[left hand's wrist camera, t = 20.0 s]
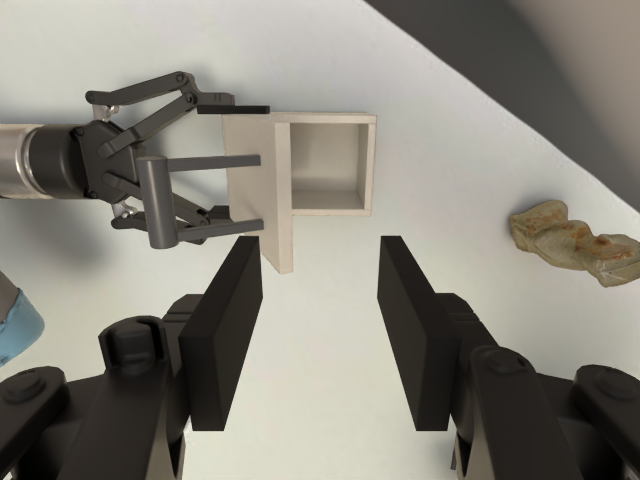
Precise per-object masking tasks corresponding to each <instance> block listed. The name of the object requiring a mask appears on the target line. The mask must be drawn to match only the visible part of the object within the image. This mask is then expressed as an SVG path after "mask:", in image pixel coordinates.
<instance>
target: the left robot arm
mask: <svg viewBox="0 0 640 480" xmlns="http://www.w3.org/2000/svg"><path fill="white" fill-rule="evenodd" d="M262 299H263V292H262V276H261V260H260V244H259V236H239V237H238V239H237V241H236V242H235V244H234V246H233V247H232V249H231V251H230V252H229V254H228V255H227V257H226V259H225V260H224V262H223V264H222V265H221V267H220V269H219V270H218V272H217V273H216V275H215V277H214V278H213V280H212V282H211V283H210V285H209V287H208V288H207V290H206V292H205V293H204V294H186V295H185V296H183V297H182V298H180V299H179V300H177V301H176V302H174V303H173V305H172V306H171V307H170V309H169V310H168V311H167V314H165V315H164V317H163V318H162V320H161V319H160V318H159V317H154V316H135V317H131V318H126V319H123V320H121V321H118V322H116V323H114V324H112V325H110V326H109V327H107V328H106V329H104V330H103V331H102V332H101V334H100V335H99V336H98V339H99V343H100V347H101V351H102V355H103V359H104V363H105V367H106V370H105V372H104V374H102V375H98V376H95V377H90V378H85V379H80V380H76V381H71V382H67V381H66V378H65V375H64V372H63V371H62V370H61V369H59V368H57V367H51V366H45V367H36V368H32V369H28V370H24V371H22V372H19V373H17V374H15V375H13V376H11V377H9V378H7V379H5V380H4V381H2V382H1V383H0V480H3V479H4V478H5V476H6V475H7V474H8V473H9V472H11V475H12V478H11V480H182V473H183V464H184V455H185V438H184V432H183V430H184V427H185V425H186V423H187V420H188V418H189V415H190V417H191V423H192V429H193V431H224V428H225V425H226V421H227V418H228V415H229V411H230V408H231V404H232V401H233V398H234V394H235V391H236V387H237V384H238V381H239V377H240V374H241V370H242V367H243V364H244V360H245V357H246V353H247V350H248V347H249V343H250V340H251V336H252V333H253V330H254V326H255V323H256V319H257V316H258V313H259V309H260V306H261V302H262ZM377 299H378V302H379V306H380V309H381V313H382V316H383V319H384V323H385V326H386V330H387V333H388V336H389V340H390V343H391V347H392V350H393V353H394V357H395V360H396V364H397V367H398V370H399V374H400V377H401V381H402V384H403V387H404V391H405V394H406V398H407V401H408V404H409V408H410V411H411V415H412V418H413V421H414V425H415V428H416V431H447V429H448V423H449V417H450V414H451V416H452V418H453V421H454V423H455V426H456V428H457V432H456V438H455V444H454V450H453V456H452V461H451V469H452V470H455V469H456V464H457V472H458V480H640V381H639V380H638V379H636V378H635V377H633V376H631V375H629V374H627V373H625V372H623V371H621V370H618V369H615V368H612V367H607V366H601V365H593V364H592V365H585V366H582V367H580V368H579V369H578V370H577V371H576V375H575V378H574V381H572V380H567V379H563V378H558V377H553V376H548V375H544V374H540V373H537V372H536V371H535V369H534V367H533V366H532V365H531V363H530V362H529V361H528V360H527V359H526V358H524V357H523V356H522V355H520V354H519V353H517V352H515V351H512V350H510V349H508V348H504V347H500V346H499V345H498V344H497V342H496V341H495V340H494V338H493V337H492V336H491V334H490V333H489V332H488V330H487V329H486V327H485V326H484V325H483V323H482V322H481V321H479V318H478V317H477V315H476V314H475V313H473V310H472V309H471V307H470V306H469V304H468V303H467V302H466V301H465V300H463V299H462V298H460V297H459V296H457V295H456V294H454V293H435V292H434V290H433V288H432V287H431V285H430V283H429V282H428V280H427V278H426V277H425V275H424V273H423V272H422V270H421V269H420V267H419V265H418V264H417V262H416V260H415V259H414V257H413V255H412V254H411V252H410V251H409V249H408V247H407V246H406V244H405V242H404V241H403V239H402V237H401V236H381V244H380V260H379V276H378V292H377Z"/></svg>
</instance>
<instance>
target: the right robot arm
mask: <svg viewBox="0 0 640 480" xmlns="http://www.w3.org/2000/svg"><path fill="white" fill-rule="evenodd" d="M177 90H181V93H182V96H180V97H179V98H177V99H176V100H174V101H173V102H171V103H169V104H168V105H166V106H165V107H163V108H162V109H160V110H158V111H157V112H155V113H154V114H152V115H151V116H149V117H147V118H146V119H144V120H143V121H141V122H140V123H138V124H136V125H135V126H133V127H131V128H128V129H127V130H123V129H122V128H120V127H119V126H117V125H116V124H114V123H113V122H111V121H110V120H109V119H110V116H111V115H112V114H116V113H118V111H119V108H120V107H119V106H123V105H130V104H134V103H137V102H140V101H144V100H147V99H150V98H154V97H157V96H160V95H164V94H167V93H170V92H174V91H177ZM85 98H86V100H87V102H89V103H90V104H93V112H94V120H93V121H91V122H90V123H88V124H47V125H42V124H0V198H9V199H12V198H13V199H53V198H57V199H100V200H103V201H105V202H107V203H110V204H111V205H112V209H113V213H114V216H115V218H114V219H113V220H112V221H111V225H112V227H113V228H115V229H131V228H135V229H138V230H142V231H146V232H148V229H147V223H146V217H145V212H142V211H137V208H135V207H131V206H128V205H127V204H126V203H125V201H124V200H126V199H127V198H128V197H129V196H133V197H135V198H137V199H139V200H143V199H142V193H141V187H140V181H139V175H138V169H137V163H136V159H137V158H140V157H146V149H145V146H142V144H141V143H142V142H144V141H145V140H147V139H149V138H150V137H152V135H154V134H155V133H157V132H158V131H160V130H162V129H163V128H165V127H166V126H168V125H170V124H171V123H173V122H174V121H176V120H178V119H179V118H181V117H182V116H184V115H186V114H187V113H189V112H190V111H192V110H194V109H195V108H197V113H198V114H269V113H270V106H235V102H234V95H232V94H230V93H203V92H201V91H199V90H198V88H197V86H196V84H195V78H194V76H193V75H192V74H189V73H185V72H181V71H178V72H174V73H171V74H168V75H164V76H161V77H158V78H155V79H151V80H148V81H145V82H142V83H138V84H135V85H132V86H129V87H125V88H122V89H119V90H115V91H112V92H106V91H88V92H87V93H86V94H85ZM172 195H173V202H174V209H175V216H177V217H179V218H181V219H183V220H185V221H187V222H189V223H187V222H183V221H180V220H176V224H177V229H184V228H191V227H199V226H207V225H214V224H222V223H230V222H234V221H233V220H232V219H231V218H230V209H229V206H214V207H213V208H212V209H211V210H210V211H208V210H206V209H204V208H202V207H200V206H198V205H196V204H194V203H192V202H190V201H188V200H186V199H184V198H182V197H180V196H178V195H177V194H175V193H173V192H172ZM206 239H207V238H202V239H195V240H188V241H185V242H189V243H193V244H197V245H201V244H203V243H204V242H205V241H206ZM44 327H45V323H44V320H43V318H42V317H41V316H40V314H39V313H38V312H37V311H36V309H35V308H34V307H33V305H32V304H31V303H30V301H29V300H28V299H27V297H26V296H25V295H24V294H23V291H22V290H21V289H20V288H16V286H15V285H14V284H13V283H12V282H11V281H10V280H9V279H8V278H7V277H6V276H5V275H4V274H3V273H2V272H1V271H0V367H2V366H3V365H4V364H5V363H7V362H8V361H9V360H11V359H12V358H14V357H16V356H17V355H19V354H20V353H21V352H23V351H24V350H25V349H27V348H28V347H29V346H30V345H32V344H33V343H34V342H35V341H36V340H37V339H38V338H39V337H40V336H41V334H42V333H43V331H44Z"/></svg>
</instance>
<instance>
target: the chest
mask: <svg viewBox="0 0 640 480" xmlns="http://www.w3.org/2000/svg"><path fill="white" fill-rule="evenodd" d="M232 115H239V116H247V117H254V118H261V119H268V120H275V121H282V122H289V123H290V145H291V195H292V216H371V205H372V189H373V172H374V155H375V138H376V121H377V116H376V115H372V114H368V113H342V112H270V113H269V114H232Z"/></svg>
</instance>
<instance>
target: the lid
mask: <svg viewBox="0 0 640 480" xmlns="http://www.w3.org/2000/svg"><path fill="white" fill-rule="evenodd" d="M222 125H223V137H224V149H225V156H213V157H195V158H176V159H167V157H164V156H147V157H140V158H137V159H136V163H137V169H138V175H139V181H140V187H141V193H142V199H143V205H144V211H145V217H146V223H147V229H148V235H149V240H150V246H151V247H152V248H154V249H168V248H172V247H174V246H176V245H178V244H179V242H182V241H188V240H195V239H202V238H209V237H216V236H223V235H230V234H237V233H244V234H245V235H246V236H259V244H260V252H261V253H262V254H263V255H264V257H265V258H266V259H267V260H268V261H269V262H270V263H271V265H272V266H273V267H274V268H275V269H276V270H277V272H278V273H279V274H285V273H290V272H293V244H292V195H291V145H290V123H289V122H282V121H275V120H268V119H261V118H254V117H247V116H239V115H232V114H223V115H222ZM219 168H226V173H227V185H228V197H229V209H230V218H231V219H232V220H233V221H234V222H230V223H222V224H214V225H207V226H199V227H191V228H184V229H177V224H176V217H175V209H174V202H173V195H172V188H171V180H170V173H169V172H175V171H189V170H204V169H219Z"/></svg>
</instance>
